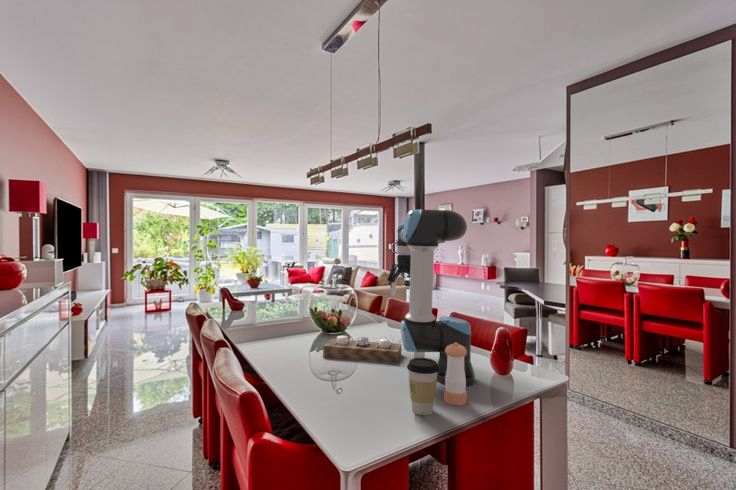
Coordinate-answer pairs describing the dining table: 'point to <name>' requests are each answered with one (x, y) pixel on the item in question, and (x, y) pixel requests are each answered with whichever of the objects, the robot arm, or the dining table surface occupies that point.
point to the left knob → (342, 340)
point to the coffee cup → (422, 384)
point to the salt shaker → (455, 375)
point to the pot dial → (363, 342)
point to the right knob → (384, 343)
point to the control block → (362, 351)
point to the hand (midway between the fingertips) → (403, 296)
